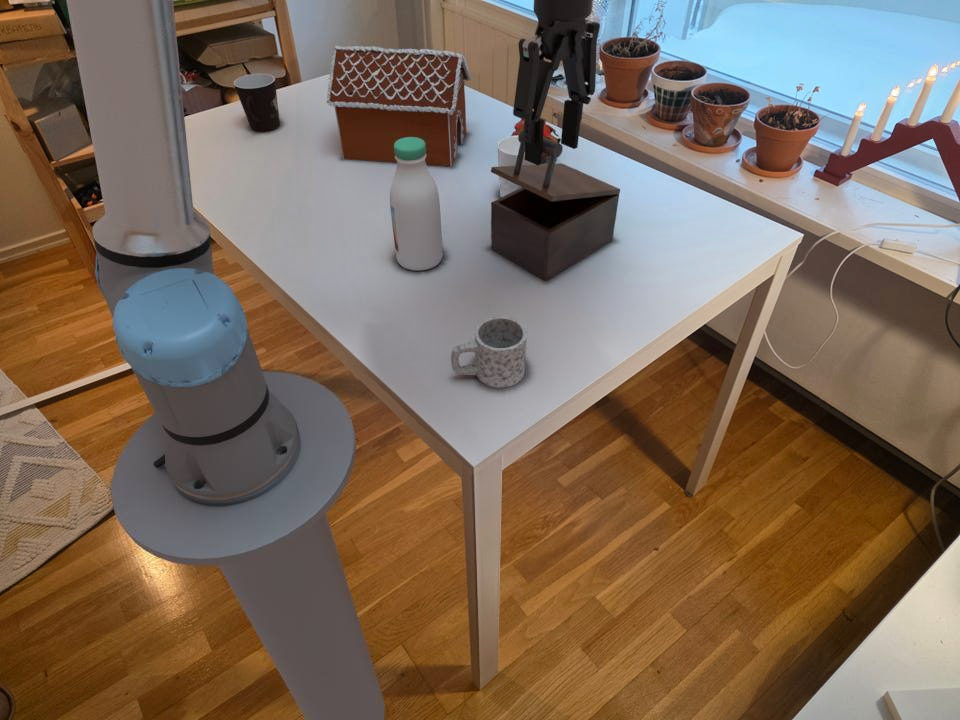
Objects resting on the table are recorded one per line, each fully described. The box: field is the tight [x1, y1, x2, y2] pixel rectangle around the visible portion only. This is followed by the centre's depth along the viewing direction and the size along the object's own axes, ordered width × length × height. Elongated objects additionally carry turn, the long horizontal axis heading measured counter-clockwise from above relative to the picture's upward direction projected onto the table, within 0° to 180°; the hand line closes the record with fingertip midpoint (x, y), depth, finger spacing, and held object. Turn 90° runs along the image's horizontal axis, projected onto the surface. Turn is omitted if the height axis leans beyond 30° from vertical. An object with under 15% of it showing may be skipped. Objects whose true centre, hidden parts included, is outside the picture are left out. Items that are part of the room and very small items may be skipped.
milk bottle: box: [389, 137, 444, 271], centre depth 100 cm, size 8×8×20 cm
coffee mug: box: [233, 73, 281, 133], centre depth 141 cm, size 12×9×10 cm
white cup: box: [496, 135, 535, 198], centre depth 118 cm, size 8×8×10 cm
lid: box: [490, 129, 621, 202], centre depth 100 cm, size 17×13×7 cm
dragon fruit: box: [510, 117, 561, 163], centre depth 131 cm, size 8×8×12 cm
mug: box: [450, 316, 528, 389], centre depth 85 cm, size 10×7×7 cm, turn 105°
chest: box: [490, 188, 620, 282], centre depth 106 cm, size 17×13×9 cm
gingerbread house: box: [325, 44, 472, 168], centre depth 131 cm, size 18×26×20 cm
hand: (551, 153), depth 97 cm, fingers open, 7 cm apart
